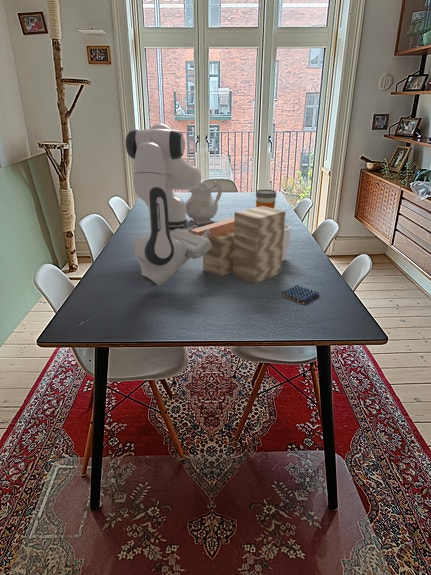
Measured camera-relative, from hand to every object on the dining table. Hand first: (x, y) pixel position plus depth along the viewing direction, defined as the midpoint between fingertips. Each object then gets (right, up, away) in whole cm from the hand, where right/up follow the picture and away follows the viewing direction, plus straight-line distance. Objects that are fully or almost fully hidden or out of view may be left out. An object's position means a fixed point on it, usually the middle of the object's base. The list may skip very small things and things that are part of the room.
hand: (202, 228), depth 156 cm
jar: (+33, -10, +27) cm, 44 cm away
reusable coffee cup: (+36, +22, +95) cm, 104 cm away
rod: (+7, -1, +8) cm, 10 cm away
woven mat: (+36, -27, -7) cm, 45 cm away
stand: (+22, -17, +11) cm, 30 cm away
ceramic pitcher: (-2, +16, +82) cm, 84 cm away
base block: (+8, -15, +15) cm, 23 cm away
